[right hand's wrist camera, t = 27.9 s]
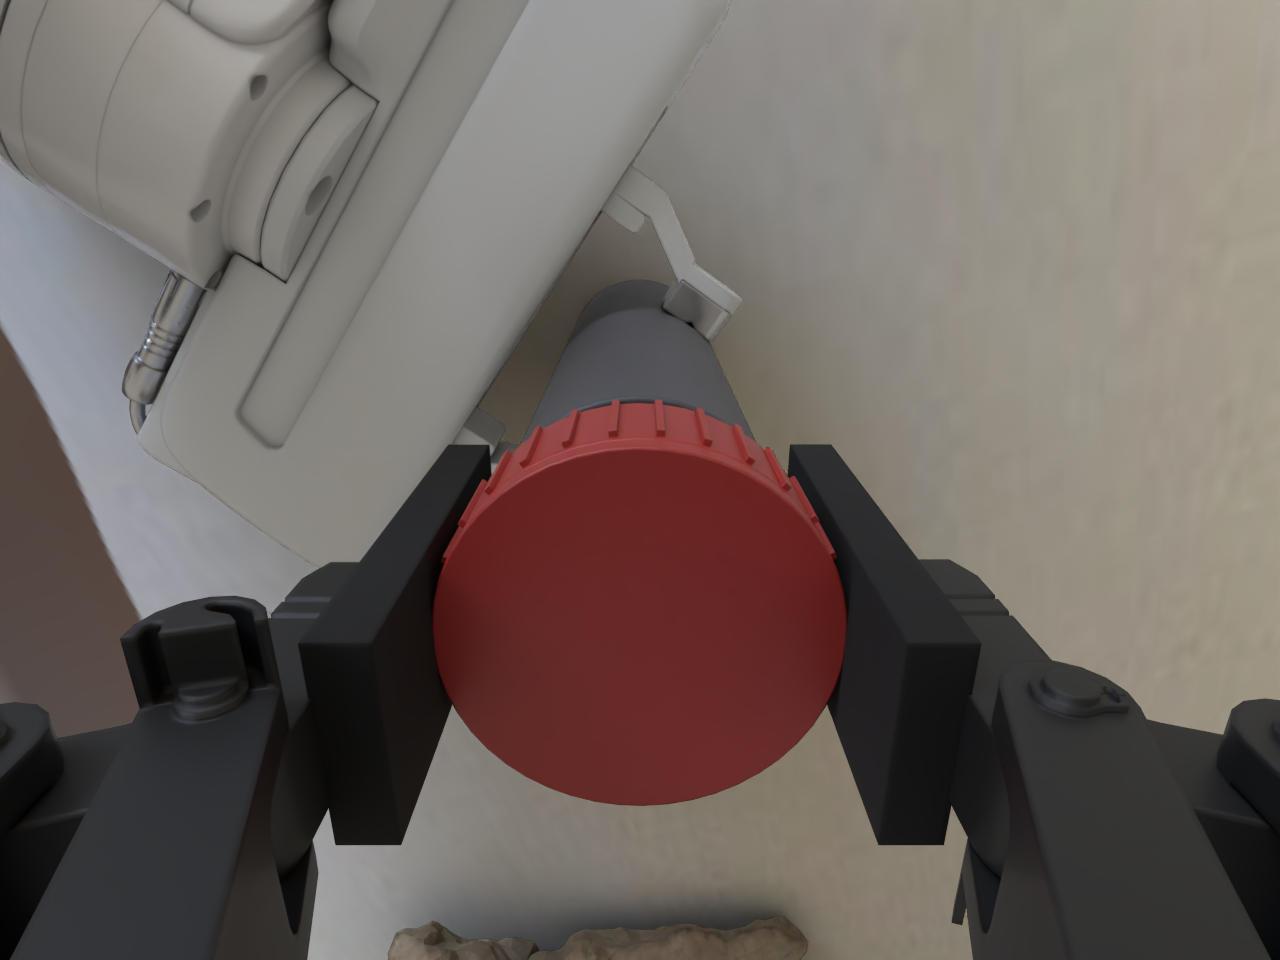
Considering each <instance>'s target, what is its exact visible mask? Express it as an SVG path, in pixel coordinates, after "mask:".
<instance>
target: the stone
mask: <svg viewBox="0 0 1280 960" xmlns="http://www.w3.org/2000/svg"><path fill="white" fill-rule="evenodd" d="M807 947H808V941H807V939H806V938H805V936H804V935H803V934H802V932H801V931H800V930H799V929H798V928H797V927H796V926H794V925H793V924H792V923H791V922H790V921H789V920H788V919H787V918H786V917H785V916H784V917H775V918H771V919H767V920H760V919H756V920H754V921H753V922H751V923H750V924H748V925H747V926H745V927H739V928H734V929H730V930H726V931H724V930H718V929H714V928H703V927H700V926H697V925H694V924H692V923H683V924H676V925H674V926H661V927H659V928H656V929H654V930H630V929H627V928H623V927H619V928H615V929H583V930H580V931H578V932H576V933H575V934H573V935H571V936H569V938H568V940H567V941H566V943H565V945H564V946H562V947H561V948H560V949H559V950H556V951H553V952H551V951H539V950H538V947H537V945H536V944H535V942H533V941H528V940H525V939H521V938H518V937H517V938H504V939H502V940H500V941H496V940H492V939H482V938H480V939H478V940H466V939H462V938H461V937H459V936H457V935H455V934H453V933H452V932H450V931H449V930H448V929H447V928H445V927H444V926H442V925H441V924H439V923H438V922H435V921H431V922H430V923H428V924H427V925H424V926H422V927H420V928H417V929H409V928H406V929H403V930H401V931H399V932H397V933H396V934H395V937H394V939H393V942H392V944H391V947H390V950H389V952H388V960H801V958H802V957H803V955H804V954H805V953H806V951H807Z"/></svg>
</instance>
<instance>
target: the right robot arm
mask: <svg viewBox="0 0 1280 960" xmlns="http://www.w3.org/2000/svg"><path fill="white" fill-rule="evenodd" d="M491 476H492V472H491V458H490V445H448V446H447V447H446V448H445V450H444V451H443V452H442V454H441V455H440V456H439V458H438V459H437V460H436V462H435V463H434V464H433V465H432V467H431V468H430V469H429V471H428V472H427V473H426V475H425V476H424V477H423V479H422V480H421V481H420V483H419V484H418V485H417V487H416V488H415V489H414V491H413V492H412V493H411V495H410V496H409V497H408V498H407V500H406V501H405V502H404V504H403V505H402V506H401V508H400V509H399V510H398V512H397V513H396V514H395V516H394V517H393V518H392V520H391V521H390V522H389V524H388V525H387V526H386V528H385V529H384V530H383V531H382V533H381V534H380V535H379V537H378V538H377V539H376V541H375V542H374V543H373V545H372V546H371V547H370V549H369V550H368V551H367V553H366V554H365V555H364V557H363V558H362V559H361V561H360V562H330V563H328V564H326V565H325V566H323V567H321V568H320V569H318V570H316V571H314V572H313V573H311V574H309V575H308V576H306V577H304V578H302V579H301V581H300V582H299V583H298V584H297V585H296V586H295V587H294V589H293V590H292V591H291V592H290V593H289V594H288V595H287V597H286V598H285V602H281V604H280V605H279V606H278V607H277V608H276V609H275V610H274V612H273V613H272V614H271V618H268V616H267V611H266V607H264V606H263V605H262V604H260V603H259V602H257V601H256V600H254V599H249V598H244V597H238V596H220V597H208V598H203V599H198V600H193V601H188V602H183V603H180V604H177V605H175V606H172V607H169V608H166V609H164V610H161V611H158V612H156V613H154V614H152V615H150V616H149V617H147V618H145V619H143V620H142V621H140V622H138V623H136V624H134V625H133V626H132V627H131V628H130V629H129V630H128V631H127V632H126V633H125V634H124V635H123V636H122V637H121V638H120V641H121V645H122V648H123V651H124V655H125V659H126V662H127V666H128V669H129V673H130V676H131V680H132V683H133V687H134V690H135V694H136V697H137V701H138V704H139V708H140V709H139V711H138V713H137V715H136V717H135V719H134V721H133V723H131V724H127V725H123V726H118V727H113V728H108V729H103V730H98V731H93V732H88V733H82V734H77V735H73V736H67V737H62V738H57V736H56V733H55V730H54V727H53V724H52V721H51V718H50V715H49V713H48V712H46V711H45V710H44V709H42V708H41V707H39V706H38V705H35V704H27V703H18V702H13V703H5V704H0V960H307V956H308V949H309V941H310V933H311V926H312V918H313V910H314V903H315V895H316V887H317V879H318V867H317V860H316V854H315V849H314V844H313V838H314V836H315V834H316V832H317V830H318V828H319V826H320V824H321V822H322V820H323V818H324V816H325V814H326V812H327V810H328V808H329V812H330V818H331V823H332V828H333V833H334V839H335V844H336V845H401V844H402V841H403V838H404V836H405V833H406V830H407V827H408V825H409V822H410V819H411V816H412V814H413V811H414V808H415V805H416V803H417V800H418V797H419V794H420V792H421V789H422V786H423V784H424V781H425V778H426V775H427V773H428V770H429V767H430V764H431V762H432V759H433V756H434V753H435V751H436V748H437V745H438V742H439V740H440V737H441V734H442V732H443V729H444V726H445V723H446V721H447V718H448V715H449V712H450V710H451V707H452V702H451V700H450V699H449V697H448V695H447V693H446V691H445V688H444V685H443V683H442V680H441V677H440V675H439V672H438V668H437V663H436V655H435V647H434V638H433V628H432V610H433V599H434V595H435V591H436V587H437V583H438V579H439V576H440V573H441V571H442V568H443V566H444V564H443V563H441V559H442V556H443V554H444V553H445V551H446V549H447V547H448V545H449V543H450V542H451V540H452V538H453V536H454V534H455V532H456V531H457V529H458V527H459V526H458V523H459V521H460V519H461V517H462V515H463V513H464V512H465V510H466V508H467V506H468V504H469V502H470V501H471V499H472V497H473V495H474V493H475V492H476V490H477V488H478V486H479V484H480V483H481V481H482V480H483V479H484V480H485V481H487V482H488V480H489V479H490V477H491ZM792 476H795V478H796V479H797V481H798V482H799V484H800V486H801V488H802V490H803V492H804V493H805V495H806V497H807V499H808V501H809V503H810V504H811V506H812V508H813V510H814V512H815V514H816V515H817V517H818V519H819V523H820V525H821V527H822V529H823V531H824V532H825V534H826V536H827V538H828V540H829V542H830V543H831V545H832V547H833V549H834V551H835V553H836V556H837V558H836V559H834V560H833V561H834V563H835V565H836V567H837V570H838V573H839V576H840V580H841V583H842V586H843V590H844V594H845V601H846V608H847V615H848V617H847V632H846V642H845V651H844V659H843V665H842V668H841V672H840V675H839V678H838V681H837V684H836V687H835V689H834V691H833V693H832V695H831V697H830V699H829V701H828V703H827V705H828V708H829V711H830V714H831V716H832V719H833V722H834V725H835V727H836V730H837V733H838V736H839V738H840V741H841V744H842V747H843V749H844V752H845V755H846V757H847V760H848V763H849V766H850V768H851V771H852V774H853V777H854V779H855V782H856V785H857V788H858V790H859V793H860V796H861V799H862V801H863V804H864V807H865V809H866V812H867V815H868V818H869V820H870V823H871V826H872V829H873V831H874V834H875V837H876V840H877V842H878V845H944V841H945V836H946V831H947V826H948V820H949V815H950V810H951V805H952V807H953V809H954V811H955V813H956V815H957V817H958V819H959V821H960V823H961V825H962V827H963V829H964V831H965V833H966V835H967V837H968V839H967V844H966V849H965V854H964V859H963V864H962V869H961V874H960V879H959V884H958V889H957V894H956V899H955V904H954V909H953V916H952V923H955V924H959V925H962V924H963V919H964V914H965V909H966V908H967V916H968V924H969V931H970V939H971V947H972V954H973V960H1280V700H1273V699H1257V700H1248V701H1243V702H1242V703H1240V704H1239V705H1237V706H1236V707H1235V708H1233V709H1232V710H1231V713H1230V716H1229V719H1228V722H1227V725H1226V728H1225V731H1224V734H1223V735H1221V734H1216V733H1210V732H1205V731H1200V730H1195V729H1190V728H1185V727H1179V726H1174V725H1169V724H1164V723H1159V722H1155V721H1151V720H1147V719H1146V717H1145V715H1144V713H1143V712H1142V710H1141V708H1140V706H1139V705H1138V704H1137V703H1136V702H1135V701H1134V699H1133V698H1132V697H1131V696H1130V695H1129V693H1128V692H1127V691H1125V690H1124V689H1122V688H1121V687H1119V686H1118V685H1116V684H1115V683H1113V682H1112V681H1110V680H1109V679H1107V678H1105V677H1103V676H1101V675H1098V674H1096V673H1093V672H1091V671H1089V670H1086V669H1084V668H1082V667H1078V666H1074V665H1069V664H1065V663H1061V662H1057V661H1052V660H1051V659H1050V658H1049V656H1048V655H1047V654H1046V653H1045V652H1044V651H1043V650H1042V649H1041V647H1040V646H1039V645H1038V644H1037V643H1036V642H1035V641H1034V639H1033V638H1032V637H1031V636H1030V635H1029V634H1028V633H1027V631H1026V630H1025V629H1024V628H1023V627H1022V626H1021V625H1020V624H1019V622H1018V621H1017V620H1016V619H1015V618H1014V617H1013V616H1009V611H1008V610H1007V609H1006V608H1005V606H1004V605H1003V604H1002V603H1001V602H1000V601H999V600H998V599H995V595H994V594H993V593H992V592H991V591H990V589H989V588H988V587H987V586H986V585H985V584H984V583H983V581H982V580H981V579H980V578H979V577H978V576H977V575H975V574H973V573H972V572H970V571H968V570H966V569H965V568H963V567H961V566H960V565H958V564H956V563H954V562H953V561H951V560H918V559H917V557H916V556H915V555H914V553H913V552H912V551H911V549H910V548H909V547H908V545H907V544H906V543H905V541H904V540H903V539H902V537H901V536H900V535H899V533H898V532H897V531H896V530H895V528H894V527H893V526H892V524H891V523H890V522H889V520H888V519H887V518H886V516H885V515H884V514H883V512H882V511H881V510H880V508H879V507H878V506H877V504H876V503H875V502H874V500H873V499H872V498H871V497H870V495H869V494H868V493H867V491H866V490H865V489H864V487H863V486H862V485H861V483H860V482H859V481H858V479H857V478H856V477H855V475H854V474H853V473H852V471H851V470H850V469H849V467H848V466H847V465H846V464H845V462H844V461H843V460H842V458H841V457H840V456H839V454H838V453H837V452H836V450H835V449H834V448H833V446H832V445H790V452H789V465H788V477H789V478H791V477H792Z"/></svg>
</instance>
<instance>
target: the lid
mask: <svg viewBox="0 0 1280 960" xmlns="http://www.w3.org/2000/svg"><path fill="white" fill-rule="evenodd" d="M458 526H459V527H458V529H457V531H456V532H455V534H454V536H453V538H452V540H451V542H450V543H449V545H448V547H447V549H446V551H445V553H444V554H443V556H442V559H441V563H443V564H444V566H443V568H442V571H441V573H440V576H439V579H438V583H437V587H436V591H435V595H434V599H433V610H432V628H433V638H434V647H435V655H436V663H437V668H438V672H439V675H440V677H441V680H442V683H443V685H444V688H445V691H446V693H447V695H448V697H449V699H450V700H451V702H452V704H453V706H454V708H455V710H456V711H457V713H458V714H459V716H460V717H461V719H462V720H463V721H464V723H465V724H466V725H467V727H468V728H469V729H470V731H471V732H472V733H473V734H474V735H475V736H476V737H477V738H478V739H479V740H480V741H481V743H482V744H483V745H484V746H485V747H486V748H487V749H488V750H490V751H491V752H492V753H493V754H494V755H496V756H497V757H498V758H499V759H501V760H502V761H503V762H504V763H505V764H507V765H508V766H510V767H512V768H513V769H515V770H516V771H518V772H519V773H521V774H523V775H524V776H526V777H528V778H530V779H532V780H534V781H536V782H538V783H540V784H542V785H544V786H546V787H548V788H551V789H554V790H556V791H559V792H562V793H565V794H567V795H570V796H574V797H578V798H582V799H586V800H590V801H594V802H602V803H609V804H616V805H636V806H647V805H662V804H672V803H677V802H683V801H689V800H694V799H697V798H701V797H705V796H708V795H712V794H715V793H718V792H720V791H723V790H725V789H728V788H730V787H733V786H735V785H738V784H740V783H742V782H744V781H746V780H747V779H749V778H751V777H753V776H755V775H757V774H759V773H760V772H762V771H763V770H765V769H766V768H768V767H769V766H770V765H772V764H773V763H775V762H776V761H778V760H779V759H780V758H781V757H783V756H784V755H785V754H786V753H787V752H788V751H789V750H790V749H792V748H793V747H794V746H795V745H796V744H797V743H798V742H799V741H800V740H801V739H802V738H803V736H804V735H805V734H806V733H807V732H808V731H809V730H810V728H811V727H812V726H813V725H814V723H815V722H816V720H817V719H818V717H819V716H820V714H821V713H822V711H823V710H824V708H825V707H826V705H827V703H828V701H829V699H830V697H831V695H832V693H833V691H834V689H835V687H836V684H837V681H838V678H839V675H840V672H841V668H842V665H843V659H844V651H845V642H846V632H847V617H848V615H847V608H846V601H845V594H844V590H843V586H842V583H841V580H840V576H839V573H838V570H837V567H836V565H835V563H834V561H833V560H834V559H836V558H837V556H836V553H835V551H834V549H833V547H832V545H831V543H830V542H829V540H828V538H827V536H826V534H825V532H824V531H823V529H822V527H821V525H820V523H819V519H818V517H817V515H816V514H815V512H814V510H813V508H812V506H811V504H810V503H809V501H808V499H807V497H806V495H805V493H804V492H803V490H802V488H801V486H800V484H799V482H798V481H797V479H796V478H795V476H792V477H791V478H789V477H788V476H787V474H786V473H785V471H784V470H783V469H782V468H781V466H780V464H779V462H778V460H777V458H776V456H775V454H774V452H773V450H772V449H771V448H769V447H767V448H766V449H765V450H764V449H763V448H762V447H760V446H759V445H758V444H757V443H756V442H754V441H753V440H752V439H751V438H749V437H748V436H746V435H745V434H744V432H743V430H742V428H741V426H740V425H738V424H736V423H735V424H734V426H733V427H732V426H730V425H728V424H726V423H724V422H721V421H719V420H717V419H715V418H713V417H710V416H708V415H705V413H704V409H702V408H698V407H697V408H696V410H695V411H692V410H689V409H685V408H680V407H674V406H668V405H663V403H662V400H657V399H655V403H654V404H645V403H631V404H620V400H613V401H612V405H609V406H605V407H600V408H595V409H591V410H586V411H583V412H581V413H580V412H579V410H578V409H575V410H572V411H571V413H570V416H569V417H566V418H564V419H562V420H560V421H558V422H556V423H554V424H552V425H550V426H548V427H546V428H544V429H542V428H541V426H538V427H536V428H535V429H534V431H533V433H532V435H531V437H530V438H529V439H528V440H526V441H525V442H523V443H522V444H521V445H520V446H519V447H518V448H517V449H515V450H514V451H513V452H512V453H511V452H510V451H509V450H507V451H506V452H505V453H504V454H503V455H502V457H501V459H500V461H499V463H498V465H497V467H496V469H495V471H494V472H493V474H492V476H491V477H490V479H489V480H488V482H487V481H485V480H484V479H483V480H482V481H481V483H480V484H479V486H478V488H477V490H476V492H475V493H474V495H473V497H472V499H471V501H470V502H469V504H468V506H467V508H466V510H465V512H464V513H463V515H462V517H461V519H460V521H459V523H458Z"/></svg>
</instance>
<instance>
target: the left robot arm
mask: <svg viewBox="0 0 1280 960" xmlns="http://www.w3.org/2000/svg"><path fill="white" fill-rule="evenodd" d="M729 6H730V0H0V158H1V159H2V160H3V161H4V162H5V163H6V164H8V165H9V166H10V167H11V168H12V169H14V170H15V171H16V172H18V173H19V174H21V175H22V176H24V177H25V178H27V179H28V180H30V181H31V182H33V183H34V184H36V185H37V186H39V187H41V188H42V189H44V190H45V191H47V192H49V193H50V194H52V195H53V196H55V197H57V198H58V199H60V200H61V201H63V202H65V203H66V204H68V205H69V206H71V207H73V208H74V209H76V210H77V211H79V212H81V213H82V214H84V215H85V216H87V217H89V218H90V219H92V220H93V221H95V222H97V223H98V224H100V225H102V226H103V227H105V228H106V229H108V230H110V231H111V232H113V233H114V234H116V235H118V236H119V237H121V238H122V239H124V240H126V241H127V242H129V243H131V244H132V245H134V246H135V247H137V248H139V249H140V250H142V251H143V252H145V253H147V254H148V255H150V256H151V257H153V258H155V259H156V260H158V261H159V262H161V263H163V264H164V265H166V266H167V267H169V268H171V271H170V273H169V275H168V278H167V280H166V283H165V285H164V287H163V289H162V292H161V294H160V296H159V298H158V301H157V303H156V305H155V308H154V311H153V313H152V316H151V320H150V323H149V327H148V331H147V334H146V336H145V338H144V342H143V343H142V345H141V347H140V349H139V351H137V352H136V353H135V354H134V355H133V357H132V358H131V360H130V362H129V364H128V366H127V368H126V371H125V374H124V378H123V382H122V392H123V394H124V395H125V396H126V397H127V398H129V399H130V416H131V420H132V424H133V427H134V429H135V432H136V434H137V435H138V442H139V444H140V446H141V447H142V448H143V449H144V450H145V451H146V452H147V453H148V454H149V455H151V456H152V457H153V458H155V459H156V460H158V461H159V462H161V463H163V464H165V465H166V466H168V467H170V468H172V469H173V470H175V471H177V472H179V473H181V474H182V475H184V476H186V477H188V478H189V479H191V480H193V481H195V482H197V483H199V484H201V485H202V486H203V487H204V488H205V489H206V490H208V491H209V492H210V493H211V494H213V495H214V496H215V497H217V498H218V499H219V500H220V501H222V502H223V503H224V504H225V505H227V506H228V507H229V508H231V509H232V510H233V511H235V512H236V513H237V514H239V515H240V516H241V517H243V518H244V519H245V520H247V521H248V522H250V523H251V524H252V525H254V526H255V527H256V528H258V529H259V530H261V531H262V532H264V533H265V534H267V535H268V536H269V537H271V538H272V539H274V540H275V541H277V542H278V543H280V544H281V545H283V546H284V547H286V548H287V549H289V550H290V551H292V552H293V553H295V554H296V555H298V556H300V557H301V558H303V559H304V560H306V561H307V562H309V563H311V564H313V565H315V566H316V567H318V568H321V567H323V566H325V565H326V564H328V563H330V562H360V561H361V559H362V558H363V557H364V555H365V554H366V553H367V551H368V550H369V549H370V547H371V546H372V545H373V543H374V542H375V541H376V539H377V538H378V537H379V535H380V534H381V533H382V531H383V530H384V529H385V528H386V526H387V525H388V524H389V522H390V521H391V520H392V518H393V517H394V516H395V514H396V513H397V512H398V510H399V509H400V508H401V506H402V505H403V504H404V502H405V501H406V500H407V498H408V497H409V496H410V495H411V493H412V492H413V491H414V489H415V488H416V487H417V485H418V484H419V483H420V481H421V480H422V479H423V477H424V476H425V475H426V473H427V472H428V471H429V469H430V468H431V467H432V465H433V464H434V463H435V462H436V460H437V459H438V458H439V456H440V455H441V454H442V452H443V451H444V450H445V448H446V447H447V446H448V445H490V458H491V472H492V474H493V472H494V471H495V469H496V467H497V465H498V463H499V461H500V459H501V457H502V455H503V454H504V453H505V452H506V451H507V450H509V451H510V452H511V453H512V452H513V451H514V450H515V449H517V448H518V447H519V446H520V444H514V443H505V442H499V441H500V439H501V438H502V436H503V434H504V432H505V431H506V428H505V425H504V424H502V423H501V422H499V421H498V420H496V419H495V418H493V417H492V416H490V415H489V414H487V413H486V412H484V411H482V410H481V409H479V408H478V406H479V404H480V402H481V401H482V399H483V398H484V396H485V395H486V393H487V391H488V390H489V388H490V387H491V385H492V384H493V382H494V380H495V379H496V377H497V376H498V374H499V373H500V371H501V369H502V368H503V366H504V365H505V363H506V362H507V360H508V358H509V357H510V355H511V354H512V352H513V351H514V349H515V347H516V346H517V344H518V343H519V341H520V340H521V338H522V336H523V335H524V333H525V332H526V330H527V329H528V327H529V325H530V324H531V322H532V321H533V319H534V318H535V316H536V315H537V313H538V311H539V310H540V308H541V307H542V305H543V304H544V302H545V300H546V299H547V297H548V296H549V294H550V293H551V291H552V289H553V288H554V286H555V285H556V283H557V282H558V280H559V278H560V277H561V275H562V274H563V272H564V271H565V269H566V267H567V266H568V264H569V263H570V261H571V260H572V258H573V256H574V255H575V253H576V252H577V250H578V249H579V247H580V245H581V244H582V242H583V241H584V239H585V238H586V236H587V234H588V233H589V231H590V230H591V228H592V227H593V225H594V224H595V222H596V220H597V219H598V217H599V216H600V214H601V213H602V212H603V213H604V214H606V215H607V216H609V217H610V218H611V219H613V220H614V221H616V222H617V223H618V224H620V225H621V226H623V227H624V228H625V229H627V230H628V231H630V232H631V233H632V234H633V233H637V232H639V231H640V229H641V227H642V226H643V224H644V223H645V221H646V220H645V215H646V216H647V217H649V218H650V220H651V222H652V225H653V227H654V229H655V231H656V234H657V236H658V238H659V240H660V243H661V245H662V247H663V249H664V252H665V254H666V256H667V258H668V261H669V263H670V265H671V267H672V270H673V272H674V274H675V276H676V279H675V281H674V282H673V284H672V286H671V287H670V289H669V290H668V292H667V293H666V295H665V296H664V298H663V299H662V303H663V308H664V309H665V310H666V311H668V312H669V313H671V314H672V315H673V316H675V317H676V318H677V319H679V320H681V321H683V322H692V325H693V327H694V329H695V330H696V331H697V332H698V333H699V334H700V335H701V336H703V337H704V338H706V339H707V340H709V341H713V340H714V339H715V337H716V336H717V335H718V333H719V332H720V331H721V329H722V328H723V327H724V325H725V324H726V323H727V321H728V320H729V319H730V317H731V316H732V315H733V313H734V312H735V310H736V309H737V308H738V306H739V305H740V304H741V302H742V301H743V300H742V299H741V298H740V297H739V296H738V295H737V294H736V293H734V292H733V291H732V290H731V289H730V288H728V287H727V286H726V285H724V284H723V283H722V282H720V281H719V280H717V279H716V278H715V277H713V276H712V275H711V274H709V273H708V272H707V271H705V270H704V269H702V268H701V267H700V266H698V265H697V264H696V263H694V262H695V257H694V255H693V253H692V251H691V248H690V246H689V244H688V241H687V239H686V237H685V234H684V232H683V230H682V227H681V225H680V223H679V220H678V218H677V216H676V213H675V211H674V209H673V206H672V204H671V202H670V199H669V197H668V195H667V192H665V191H664V190H663V189H662V188H660V187H659V186H658V185H656V184H655V183H654V182H652V181H651V180H650V179H648V178H647V177H646V176H644V175H643V174H642V173H640V172H639V171H638V170H637V169H635V168H634V167H633V166H631V165H632V164H633V162H634V161H635V159H636V158H637V156H638V154H639V153H640V151H641V150H642V148H643V147H644V145H645V143H646V142H647V140H648V139H649V137H650V136H651V134H652V133H653V131H654V129H655V128H656V126H657V125H658V123H659V122H660V120H661V118H662V117H663V115H664V114H665V112H666V111H667V109H668V107H669V106H670V104H671V103H672V101H673V100H674V98H675V96H676V95H677V93H678V92H679V90H680V89H681V87H682V85H683V84H684V82H685V81H686V79H687V78H688V76H689V74H690V73H691V71H692V70H693V68H694V67H695V65H696V63H697V62H698V60H699V59H700V57H701V56H702V54H703V52H704V51H705V49H706V48H707V46H708V45H709V43H710V41H711V40H712V38H713V37H714V35H715V34H716V32H717V30H718V29H719V27H720V25H721V24H722V22H723V20H724V19H725V16H726V14H727V11H728V8H729ZM146 404H153V405H152V407H151V409H150V411H149V413H148V415H147V417H146V411H145V407H146Z"/></svg>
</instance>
